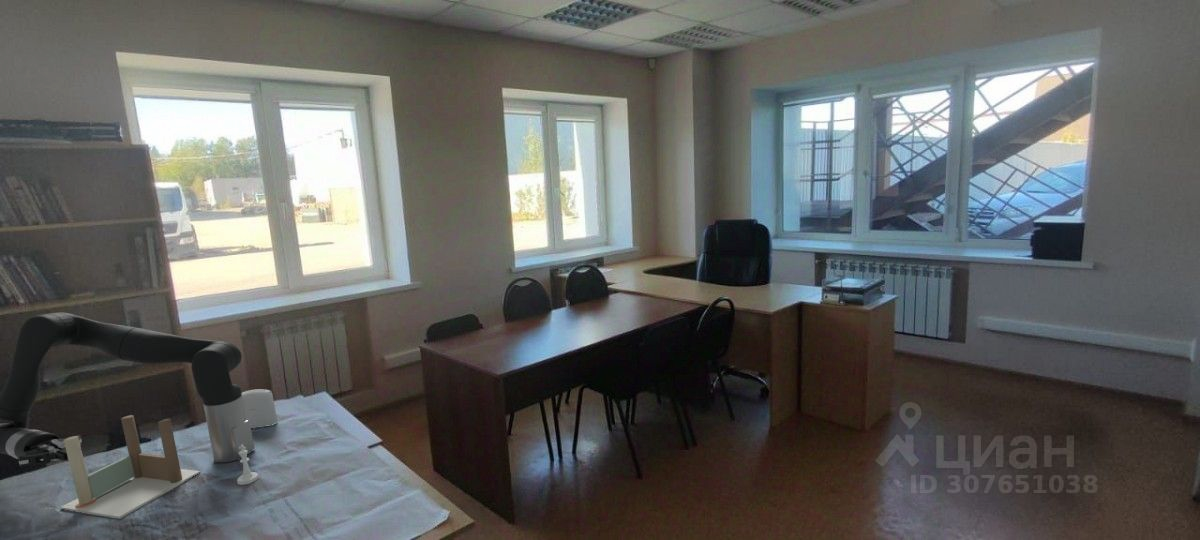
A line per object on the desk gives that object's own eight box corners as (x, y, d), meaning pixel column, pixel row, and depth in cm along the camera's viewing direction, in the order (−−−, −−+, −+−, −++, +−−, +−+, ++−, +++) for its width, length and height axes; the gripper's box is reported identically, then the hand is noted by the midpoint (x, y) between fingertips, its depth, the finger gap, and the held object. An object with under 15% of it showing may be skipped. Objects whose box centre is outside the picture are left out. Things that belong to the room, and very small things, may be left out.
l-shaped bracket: (129, 476, 151) (116, 417, 148) (137, 477, 150) (124, 418, 147) (76, 503, 139) (60, 440, 136) (84, 505, 138) (68, 441, 135)
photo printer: (239, 431, 178) (233, 394, 176) (245, 425, 182) (239, 389, 180) (274, 427, 180) (268, 390, 177) (279, 421, 184) (273, 385, 182)
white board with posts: (200, 473, 153) (188, 413, 150) (119, 518, 134) (104, 451, 130) (145, 466, 158) (133, 408, 155) (60, 509, 139) (44, 444, 136)
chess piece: (248, 485, 146) (242, 450, 144) (232, 484, 147) (226, 449, 145) (263, 475, 150) (257, 440, 149) (247, 474, 151) (241, 439, 150)
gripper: (-6, 444, 138) (33, 454, 131) (61, 421, 150) (100, 429, 143) (1, 472, 139) (40, 484, 133) (67, 447, 151) (105, 456, 145)
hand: (71, 455), depth 138 cm, fingers closed
